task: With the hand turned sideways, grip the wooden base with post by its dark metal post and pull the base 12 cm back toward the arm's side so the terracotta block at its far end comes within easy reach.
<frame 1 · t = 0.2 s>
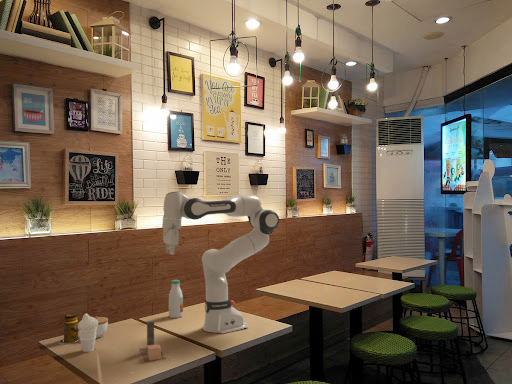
hand: (170, 253, 201), 39 cm above the table, tool pointing down, fingers open, 8 cm apart
milk bottle: (176, 316, 234), on the table
wooden base with post: (151, 340, 172), point 7 cm above the table, slide at 0.0 cm, touching terracotta block
soft serve ice cream cone: (88, 351, 181), on the table
lidded jar: (96, 336, 201), on the table
terracotta block: (154, 357, 167), point 1 cm above the table, touching wooden base with post
condiment: (68, 341, 194), on the table
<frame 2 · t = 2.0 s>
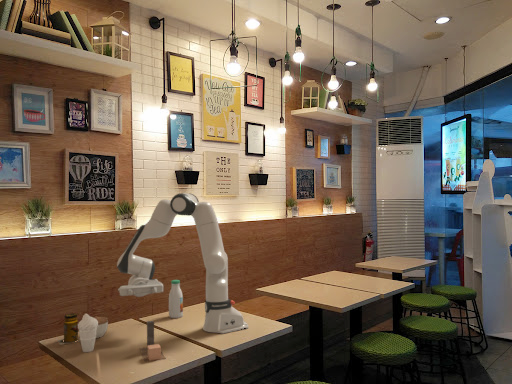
hand: (143, 292, 194), 22 cm above the table, tool horizontal, fingers open, 8 cm apart
nothing on the table moved.
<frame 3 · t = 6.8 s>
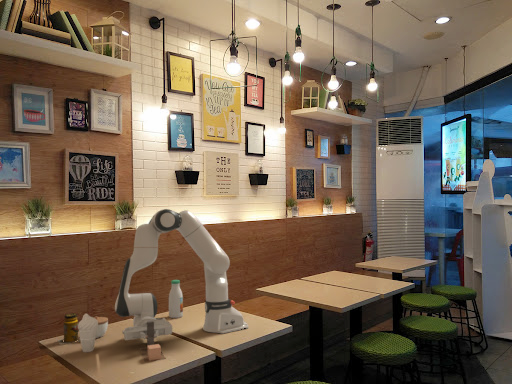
hand: (150, 336, 175), 8 cm above the table, tool horizontal, fingers closed on wooden base with post, 2 cm apart
wooden base with post: (151, 340, 172), point 7 cm above the table, slide at 0.0 cm, touching gripper, terracotta block
everything else where it was.
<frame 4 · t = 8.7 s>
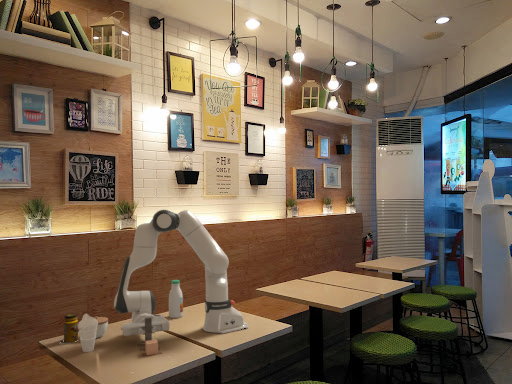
hand: (148, 332, 181), 8 cm above the table, tool horizontal, fingers closed on wooden base with post, 2 cm apart
wooden base with post: (149, 335, 178), point 7 cm above the table, slide at 6.3 cm, touching gripper, terracotta block
terracotta block: (151, 352, 173), point 1 cm above the table, touching wooden base with post
everything else where it was.
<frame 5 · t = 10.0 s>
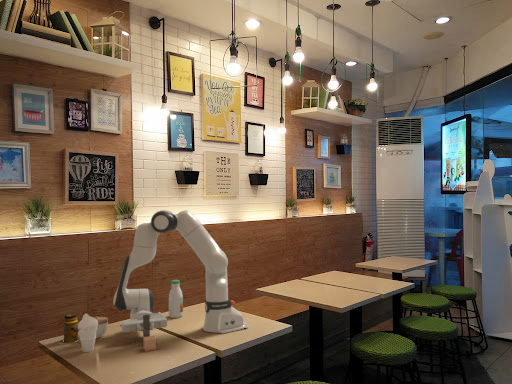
hand: (146, 328, 186), 8 cm above the table, tool horizontal, fingers closed on wooden base with post, 2 cm apart
wooden base with post: (147, 332, 183), point 7 cm above the table, slide at 11.9 cm, touching gripper, terracotta block
terracotta block: (149, 348, 178), point 1 cm above the table, touching wooden base with post
everything else where it was.
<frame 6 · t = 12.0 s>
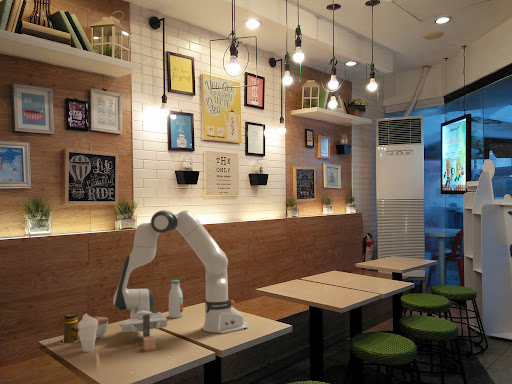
hand: (146, 328, 186), 8 cm above the table, tool horizontal, fingers open, 8 cm apart
wooden base with post: (147, 332, 183), point 7 cm above the table, slide at 12.0 cm, touching terracotta block
everything else where it was.
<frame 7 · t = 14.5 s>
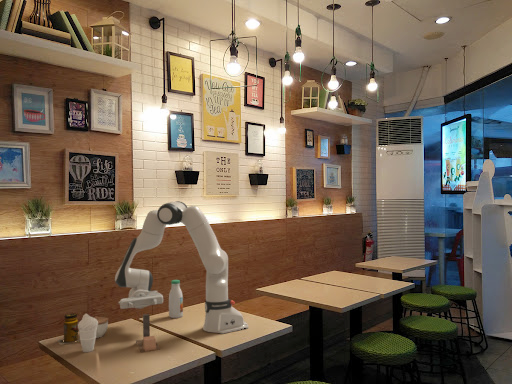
hand: (143, 304, 197), 16 cm above the table, tool horizontal, fingers open, 8 cm apart
nothing on the table moved.
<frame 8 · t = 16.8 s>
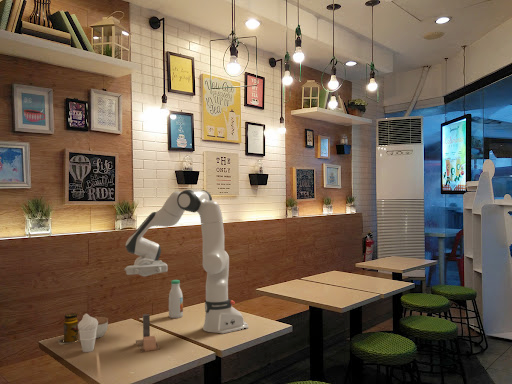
hand: (149, 271, 205), 30 cm above the table, tool horizontal, fingers open, 8 cm apart
nothing on the table moved.
at the end: wooden base with post slide at 12.0 cm; terracotta block inside the target area (0.2 cm from its centre), point 1.3 cm above the table; terracotta block tilted 0° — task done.
